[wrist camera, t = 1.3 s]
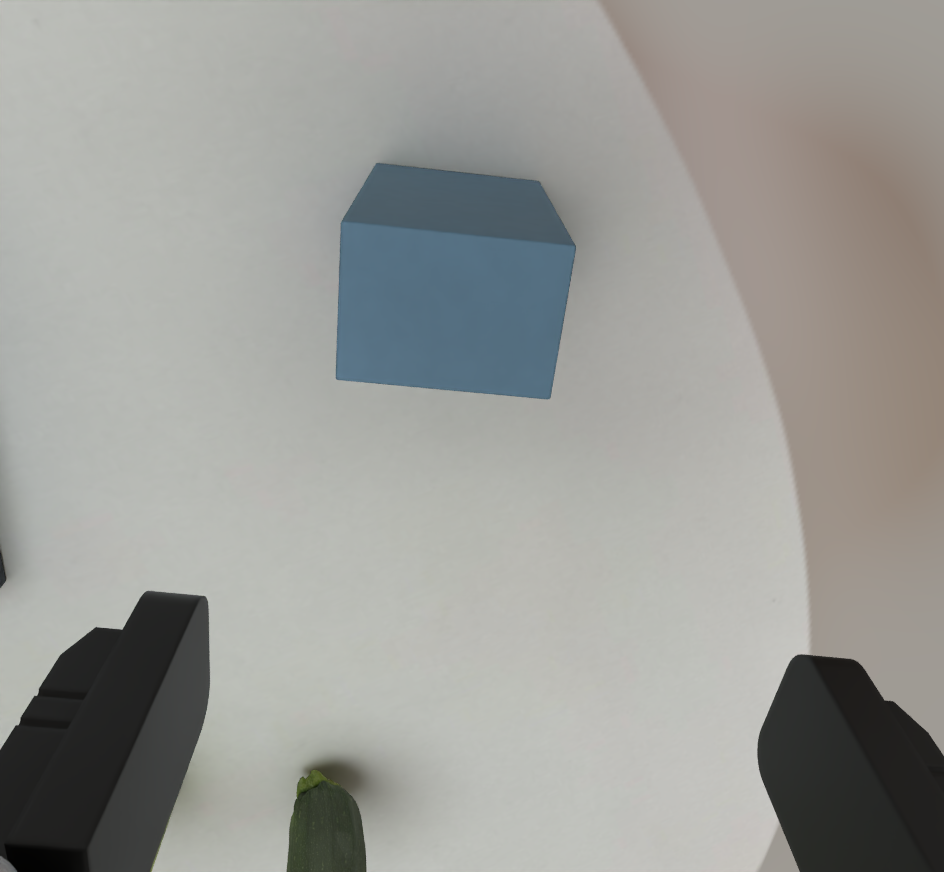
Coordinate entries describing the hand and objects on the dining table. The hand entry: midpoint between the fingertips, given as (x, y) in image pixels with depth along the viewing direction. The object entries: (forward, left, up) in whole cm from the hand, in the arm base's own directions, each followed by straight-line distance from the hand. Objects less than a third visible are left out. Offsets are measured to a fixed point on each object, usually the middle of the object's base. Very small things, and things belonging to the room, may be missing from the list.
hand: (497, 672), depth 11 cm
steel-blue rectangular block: (-2, -1, -19) cm, 19 cm away
